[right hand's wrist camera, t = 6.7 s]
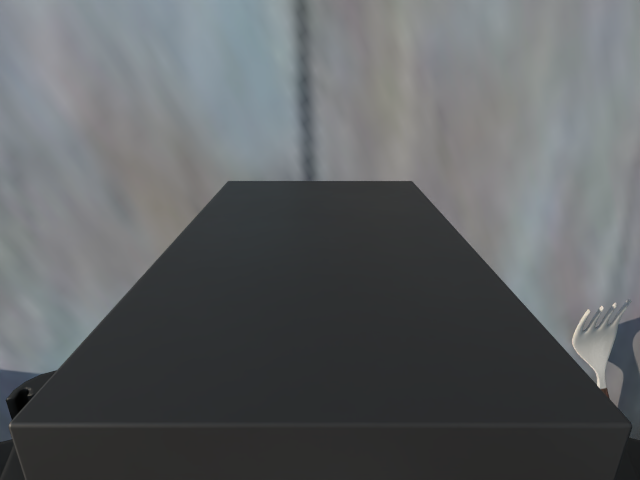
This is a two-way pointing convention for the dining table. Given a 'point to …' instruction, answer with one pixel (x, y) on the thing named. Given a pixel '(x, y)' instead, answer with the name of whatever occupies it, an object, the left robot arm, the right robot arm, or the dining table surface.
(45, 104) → the dining table surface
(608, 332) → the fork
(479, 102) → the dining table surface
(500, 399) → the box
